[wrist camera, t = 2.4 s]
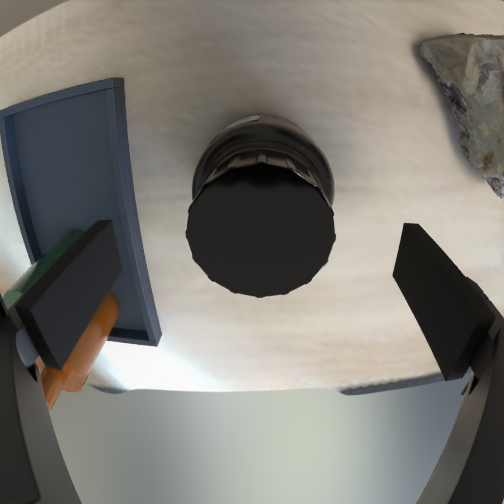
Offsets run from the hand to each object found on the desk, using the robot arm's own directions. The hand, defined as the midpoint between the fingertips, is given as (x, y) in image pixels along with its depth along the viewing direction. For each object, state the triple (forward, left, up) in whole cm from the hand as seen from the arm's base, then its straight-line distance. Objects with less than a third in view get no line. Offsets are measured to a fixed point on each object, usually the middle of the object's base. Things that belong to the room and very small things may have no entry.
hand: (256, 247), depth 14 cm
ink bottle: (0, 0, -13) cm, 13 cm away
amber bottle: (+18, +14, -12) cm, 26 cm away
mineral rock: (-17, -7, -13) cm, 23 cm away
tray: (+18, +5, -13) cm, 22 cm away
